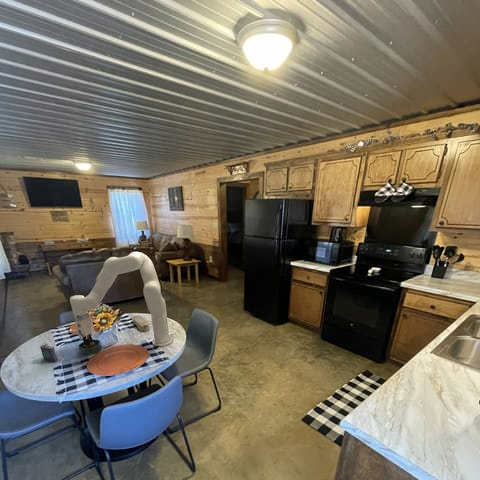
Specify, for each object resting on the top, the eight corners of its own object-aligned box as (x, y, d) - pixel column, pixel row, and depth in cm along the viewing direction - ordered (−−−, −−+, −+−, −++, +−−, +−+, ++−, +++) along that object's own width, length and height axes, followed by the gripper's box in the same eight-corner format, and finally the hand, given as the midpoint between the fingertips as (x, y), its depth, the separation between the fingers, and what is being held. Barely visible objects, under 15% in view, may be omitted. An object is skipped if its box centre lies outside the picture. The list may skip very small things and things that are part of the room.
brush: (91, 346, 167) (88, 332, 164) (97, 348, 164) (93, 334, 161) (83, 350, 163) (79, 336, 159) (88, 352, 160) (84, 338, 156)
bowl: (94, 343, 171) (92, 337, 170) (106, 348, 165) (104, 342, 164) (75, 351, 162) (73, 345, 160) (87, 357, 156) (85, 350, 154)
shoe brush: (151, 329, 191) (150, 323, 189) (141, 332, 187) (140, 326, 185) (141, 319, 209) (140, 313, 207) (131, 321, 205) (130, 316, 203)
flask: (59, 360, 153) (53, 343, 149) (54, 362, 150) (49, 346, 146) (46, 357, 155) (41, 341, 151) (42, 360, 153) (36, 344, 148)
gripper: (80, 321, 148) (87, 350, 155) (95, 311, 162) (101, 337, 170) (66, 321, 148) (74, 350, 155) (83, 311, 163) (89, 337, 170)
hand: (88, 343), depth 162 cm, fingers closed on brush, 2 cm apart
